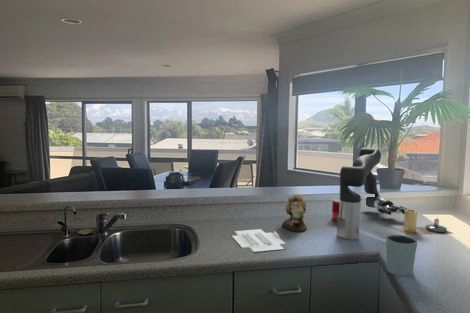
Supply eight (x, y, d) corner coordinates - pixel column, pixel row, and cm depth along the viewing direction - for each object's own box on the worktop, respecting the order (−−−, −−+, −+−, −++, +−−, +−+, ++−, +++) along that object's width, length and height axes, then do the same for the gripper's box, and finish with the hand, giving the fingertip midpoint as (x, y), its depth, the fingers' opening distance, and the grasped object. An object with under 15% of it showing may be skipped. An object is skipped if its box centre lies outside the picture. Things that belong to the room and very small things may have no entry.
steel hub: (437, 233, 162) (438, 221, 161) (421, 228, 170) (421, 216, 169) (450, 231, 165) (451, 219, 164) (433, 226, 173) (434, 215, 173)
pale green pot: (384, 274, 120) (386, 241, 119) (383, 263, 130) (385, 232, 128) (417, 279, 117) (419, 245, 115) (413, 267, 126) (415, 236, 125)
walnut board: (406, 237, 160) (407, 227, 159) (393, 230, 171) (393, 220, 170) (453, 236, 163) (454, 226, 162) (437, 229, 174) (437, 219, 173)
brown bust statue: (278, 222, 183) (278, 190, 181) (299, 221, 184) (300, 190, 183) (288, 232, 165) (289, 198, 163) (311, 232, 167) (312, 197, 165)
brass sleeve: (410, 233, 162) (411, 212, 161) (401, 229, 167) (402, 209, 166) (418, 231, 164) (419, 211, 163) (408, 228, 169) (410, 208, 168)
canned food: (341, 222, 184) (342, 202, 183) (329, 219, 190) (329, 199, 189) (349, 220, 189) (350, 200, 188) (336, 216, 195) (337, 198, 194)
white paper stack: (246, 255, 138) (246, 245, 138) (227, 235, 165) (227, 228, 164) (292, 250, 144) (292, 241, 144) (266, 232, 171) (267, 225, 170)
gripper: (371, 199, 191) (385, 205, 175) (396, 199, 192) (412, 206, 175) (371, 212, 192) (384, 220, 176) (395, 212, 192) (411, 220, 176)
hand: (398, 213), depth 175 cm, fingers open, 8 cm apart
